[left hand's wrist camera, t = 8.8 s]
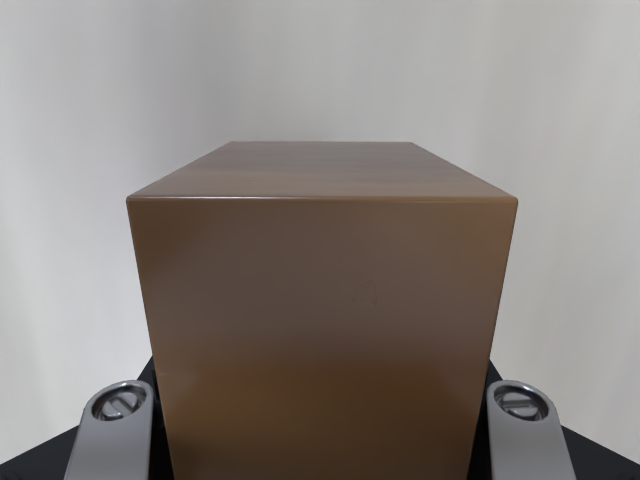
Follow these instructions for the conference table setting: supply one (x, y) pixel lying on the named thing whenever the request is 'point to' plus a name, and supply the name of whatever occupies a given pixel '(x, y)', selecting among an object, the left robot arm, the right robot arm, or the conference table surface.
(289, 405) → the post
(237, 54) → the conference table surface
